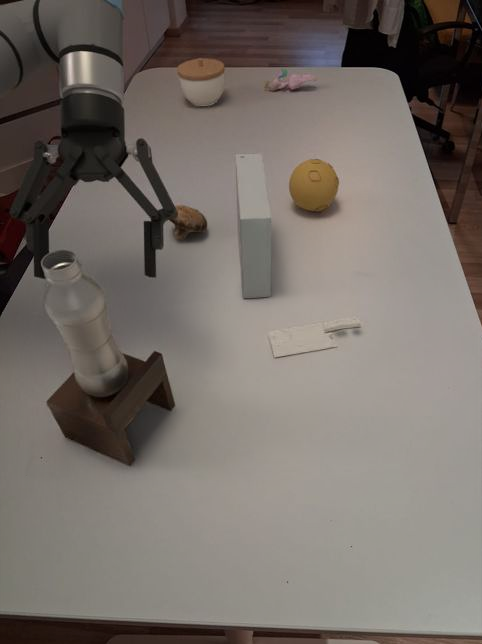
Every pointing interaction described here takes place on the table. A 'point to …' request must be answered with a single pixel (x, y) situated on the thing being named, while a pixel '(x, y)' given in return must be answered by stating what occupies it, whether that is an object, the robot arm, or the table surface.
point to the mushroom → (188, 221)
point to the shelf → (111, 408)
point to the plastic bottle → (83, 324)
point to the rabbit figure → (292, 82)
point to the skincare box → (253, 226)
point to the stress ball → (313, 185)
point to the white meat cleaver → (307, 337)
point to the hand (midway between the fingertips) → (96, 277)
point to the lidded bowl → (202, 80)
